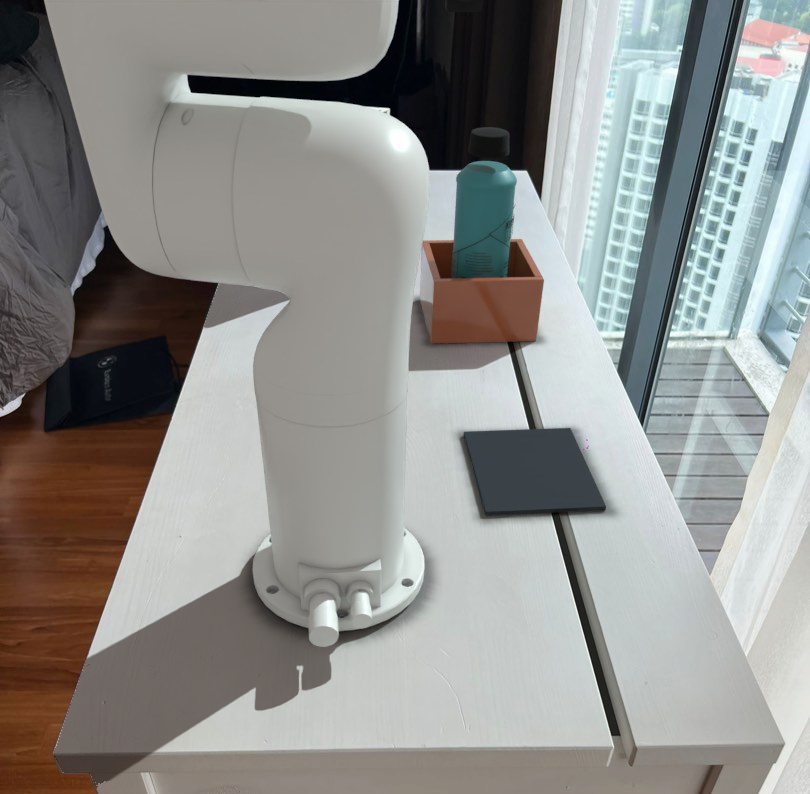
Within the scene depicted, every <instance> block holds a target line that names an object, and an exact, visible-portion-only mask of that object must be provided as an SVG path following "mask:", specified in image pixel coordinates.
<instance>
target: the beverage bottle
mask: <svg viewBox="0 0 810 794" xmlns="http://www.w3.org/2000/svg"><path fill="white" fill-rule="evenodd" d="M510 147H511V146H510V132H509V131H508V130H506V129H503V128H500V127H492V126H491V127H490V126H488V127H487V126H485V127H483V126H482V127H477V128H473V129H472V130H471V132H470V136H469V143H468V147H467V148H468V149H467V152H468V155H471V156H474V157H477V158H482V159H500V158H504V157H507V156H509V154H510ZM517 181H518V180H517V176H516V175H515V173H514V172H513V171H512V170H511V168H510V167H508V165H506V164H504V163H502V162H499V161H492V160H478V161H473V162H471V163H468V164H467V165H466V166H465V167H463V168H462V169H461V170H460V171H459V172H458V174H457V175H456V178H455V182H456V189H455V207H454V208H455V210H454V228H453V240H454V244H453V253H452V254H451V255H452V263H451V264H452V269H451V278H450V279H455V278H505V277H507V269H508V272H509V267H508V262H509V261H510V254H509V249H511V248H510V239H512V236H513V230H514V226H513V225H514V223H515V213H514V209H515V207H516V205H515V196H516V195H515V194H516V186H517ZM511 242H512V241H511ZM508 259H509V261H508ZM450 266H451V265H450Z"/></svg>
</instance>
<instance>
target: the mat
mask: <svg viewBox="0 0 810 794" xmlns="http://www.w3.org/2000/svg"><path fill="white" fill-rule="evenodd" d="M463 438H464V442H465V446H466V449H467V453H468V457H469V460H470V464H471V467H472V471H473V475H474V479H475V483H476V486H477V490H478V494H479V497H480V500H481V505H482V509H483V512H484V516H505V515H507V516H508V515H527V514H529V515H530V514H549V513H551V514H552V513H554V514H555V513H572V512H574V513H575V512H596V511H598V512H599V511H606V510H607V505H606V503H605V501H604V498H603V497H602V493H601V492H600V489H599V488H598V485H597V483H596V481H595V479H594V477H593V474H592V473H591V470H590V468H589V466H588V463H587V461H586V459H585V457H584V455H583V452H582V450H581V449H580V446H579V444H578V442H577V439H576V437H575V434H574V433H573V430H572V428H571V427H559V428H557V427H555V428H527V429H503V430H502V429H500V430H499V429H498V430H497V429H495V430H473V431H470V430H469V431H463Z"/></svg>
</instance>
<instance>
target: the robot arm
mask: <svg viewBox="0 0 810 794" xmlns="http://www.w3.org/2000/svg"><path fill="white" fill-rule="evenodd" d="M43 1H44V6H45V11H46V14H47V18H48V19H47V20H48V22H49V26H50V29H51V30H50V31H51V33H52V38H53V41H54V45H55V48H56V51H57V55H58V59H59V63H60V66H61V71H62V73H63V77H64V80H65V84H66V87H67V92H68V95H69V98H70V102H71V106H72V109H73V113H74V117H75V120H76V124H77V127H78V131H79V135H80V138H81V142H82V145H83V150H84V152H85V157H86V161H87V164H88V167H89V170H90V174H91V178H92V182H93V185H94V189H95V191H96V195H97V198H98V202H99V205H100V209H101V211H102V214H103V217H104V220H105V222H106V225H107V227H108V229H109V232H110V234H111V236H112V239H113V240H114V242H115V244H116V245H117V247H118V249H119V250H120V252H122V254H123V255H124V256H125V257H126V258H127V259H128V260H129V261H130V262H131V264H134V265H135V266H136V267H138V268H139V269H141V270H143V271H145V272H147V273H150V274H153V275H157V276H160V277H167V278H172V279H179V280H188V281H189V280H190V281H195V282H196V281H197V282H204V283H206V282H207V283H215V284H224V285H235V286H246V287H255V288H257V289H263V290H269V291H276V292H279V293H282V294H284V295H285V296H287V298H288V299H289V301H288V302H287V304H286V305H285V306H283V308H282V309H281V310H280V311H279V312H278V313H277V314H276V315H275V316H274V318H273V319H272V320H271V321H270V323H269V324H268V325H267V327H265V329H264V331H263V332H262V334H261V336H260V338H259V340H258V342H257V345H256V348H255V351H254V355H253V361H252V362H253V363H252V380H253V387H254V395H255V402H256V410H257V421H258V422H257V423H258V430H259V431H258V432H259V438H260V439H259V440H260V448H261V457H262V466H263V467H262V468H263V477H264V485H265V494H266V503H267V505H266V506H267V513H268V522H269V523H268V524H269V531H270V533H269V534H268V535H266V536H265V537H264V539H262V540H261V541H262V542H261V543H260V545H259V546H258V547H257V549H256V551H255V554H254V557H253V560H252V579H253V585H254V587H255V590H256V593H257V595H258V597H259V598H260V600H261V601H262V603H263V604H264V605H265V606H266V607H267V608H268V609H269V610H270V611H271V612H272V613H274V614H275V615H276V616H278V617H280V618H282V620H285V621H287V622H289V623H291V624H294V625H296V626H300V627H303V628H306V629H308V640H309V641H308V642H310V643H311V644H312V645H313V646H316V647H318V648H327V647H329V646H330V647H331V646H333V645H334V644H335V643H337V642H338V640H339V637H340V635H339V634H340V633H339V632H344V631H345V632H347V631H356V630H360V629H361V630H362V629H367V628H369V627H373V626H376V625H379V624H381V623H383V622H386V621H388V620H389V619H392V618H393V617H395V616H397V615H398V614H400V613H402V611H403V610H405V609H406V608H407V607H408V606H410V605H411V604H412V603H413V601H414V600H415V599H416V597H417V595H418V594H419V593H420V592H421V591H420V590H421V588H422V586H423V584H424V577H425V569H426V568H425V556H424V553H423V550H422V549H423V548H422V546H421V545H420V543H419V542H418V540H417V538H416V537H415V536H414V535H413V534H412V533H411V532H410V530H408V529H407V528H406V527H405V513H406V511H405V509H406V507H405V505H406V502H405V501H406V469H407V467H406V466H407V464H406V463H407V428H408V427H407V425H408V423H407V422H408V390H409V362H410V361H409V359H410V342H411V341H410V339H411V325H412V324H411V323H412V313H413V303H414V297H415V289H416V283H417V282H416V281H417V276H418V270H419V264H420V260H421V248H422V243H423V241H424V237H425V231H426V225H427V221H428V215H429V206H430V199H431V198H430V197H431V172H430V165H429V162H428V161H429V160H428V156H427V154H426V150H425V149H424V147H423V144H422V142H421V141H420V138H418V137H417V135H416V133H414V132H413V130H412V129H411V128H409V126H407V125H406V124H405V123H403V121H400V119H398V118H396V117H394V116H392V115H391V114H390V115H388V114H386V113H384V112H381V111H379V110H375V109H371V108H368V107H364V106H365V105H360V104H353V103H347V102H341V101H330V100H329V101H327V100H314V99H312V100H311V99H299V98H298V99H297V98H287V97H271V96H260V97H255V96H243V95H242V96H241V95H227V94H212V93H197V92H191V88H190V86H189V80H188V76H201V77H202V76H203V77H220V78H234V79H235V78H236V79H253V80H255V79H256V80H271V81H273V80H274V81H290V82H291V81H295V82H297V81H299V82H328V81H343V80H346V79H352V78H355V77H359V76H362V75H363V74H366V73H368V72H370V71H371V70H372V69H375V68H376V66H377V65H378V64H379V63H380V62H381V60H382V59H384V57H385V56H386V54H387V52H388V49H389V47H390V45H391V43H392V40H393V38H394V34H395V30H396V25H397V19H398V13H399V1H400V0H43ZM444 3H445V4H444V5H445V9H446V11H447V12H449V13H480V12H481V11H482V10H483V8H484V7H483V6H484V0H445V2H444Z"/></svg>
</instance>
